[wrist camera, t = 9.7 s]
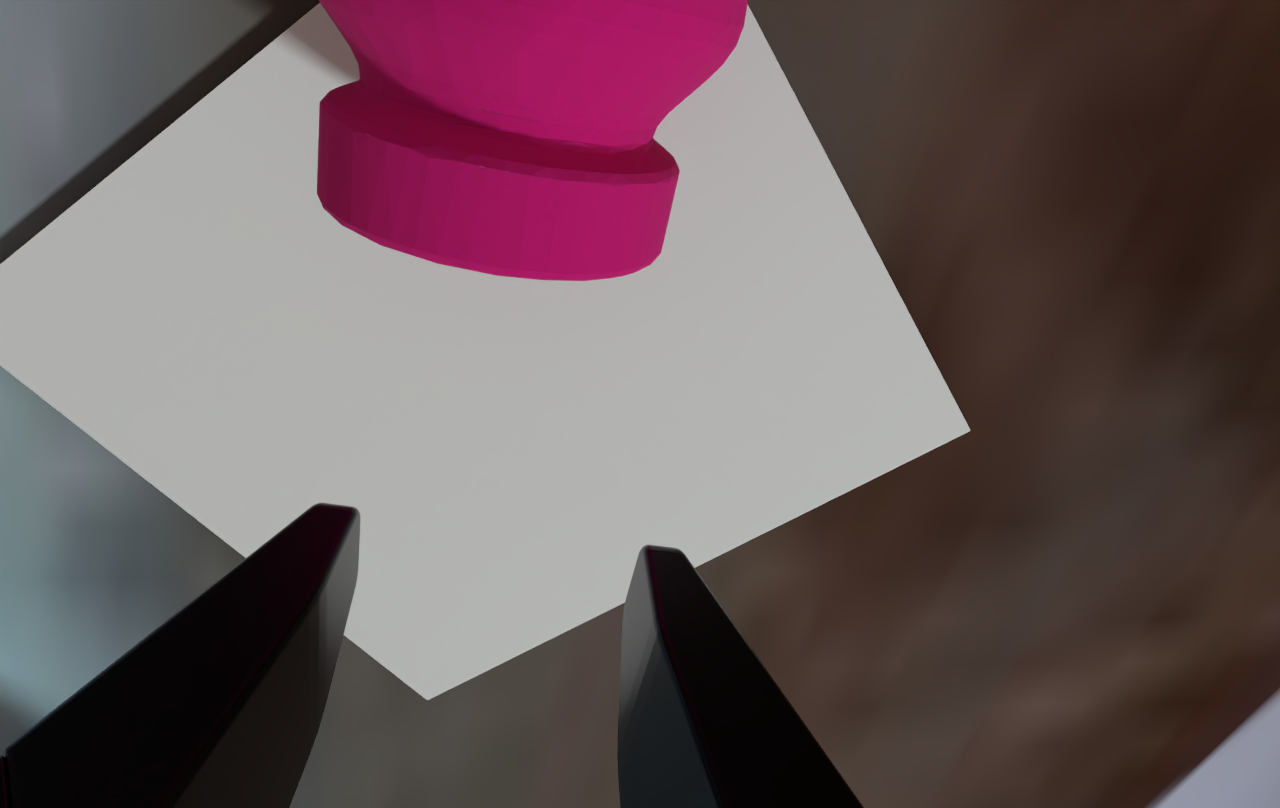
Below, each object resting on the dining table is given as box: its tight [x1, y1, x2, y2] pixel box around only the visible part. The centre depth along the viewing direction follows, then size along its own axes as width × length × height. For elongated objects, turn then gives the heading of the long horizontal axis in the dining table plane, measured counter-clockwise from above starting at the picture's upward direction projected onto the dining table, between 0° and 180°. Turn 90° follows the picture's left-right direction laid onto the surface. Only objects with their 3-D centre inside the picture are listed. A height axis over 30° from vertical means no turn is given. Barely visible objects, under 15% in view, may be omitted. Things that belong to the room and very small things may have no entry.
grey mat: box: [0, 3, 971, 700], centre depth 22 cm, size 20×18×1 cm
